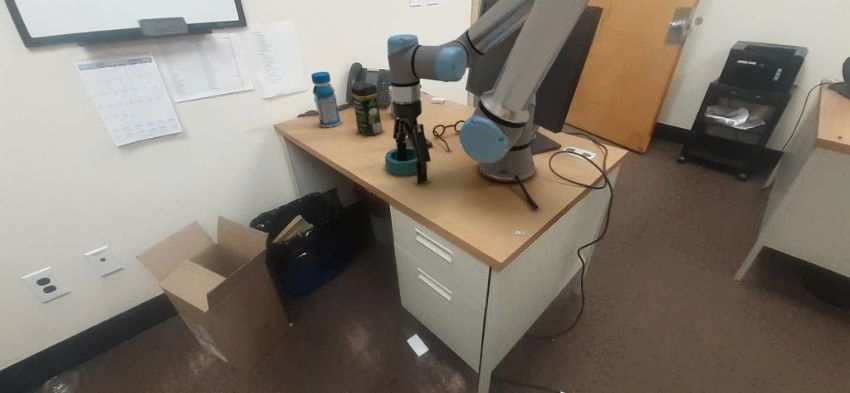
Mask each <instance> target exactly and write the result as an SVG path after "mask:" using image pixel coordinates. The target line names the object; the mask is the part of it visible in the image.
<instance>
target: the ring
mask: <svg viewBox="0 0 850 393" xmlns="http://www.w3.org/2000/svg"><path fill="white" fill-rule="evenodd" d="M406 149H407V161H398V152H397V147H396V148H392V149H391V150H389V151H387V152H386V153H385V156H384V162H385V170H386V171H387V172H389V174H391V175H394V176H397V177H405V176H406V177H407V176H408V177H409V176H413V175H417V169H416V163H415V162H416V161H417V158H416V155H415V152H414V149H413V147H406Z"/></svg>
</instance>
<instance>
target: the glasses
mask: <svg viewBox="0 0 850 393" xmlns="http://www.w3.org/2000/svg"><path fill="white" fill-rule="evenodd" d="M465 121H466V120H463V119H461V120H458V121H456V122H455V123H454V124H448V125H443V124H437V125H435V126H434V127H433V128H432V136H434V137H435V138H438V139H439V140H440V141H441V142H443V143H444V144H445V146H446V148H447V150H448V152H451V150H450V147H449V144H448V142H447V141H446V139H444V138H442V136H443V135H444V134H445V131H446V129H447V128H453V129H454V132H456V133H460V130H457V125H458V124H459V123H464V122H465ZM439 127H441V128H442V132H441V133H438V131H437V130H436V129H437V128H439Z"/></svg>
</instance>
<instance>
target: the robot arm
mask: <svg viewBox="0 0 850 393" xmlns="http://www.w3.org/2000/svg"><path fill="white" fill-rule="evenodd" d="M590 1H591V0H498V1H497V2H495V4H493V5H492V6H491V7H490V8H489V9H488V10H487V11H486V12H484V14H483V15H481V16H480V17H479V18H478V19H477V20H476V21H475V22H474V23H472V24H471V25H470V26H469V27H468V28H467V29H466V30H465V31H464V32H462V34H460V35H459V36H458V37H457V38H456V39H454V40H453V39H452V40H450V41H447V42H445V43H442V44H439V45H423V44H420V43H419V39H418V35H415V34H410V33H405V34H396V35H391V36H389V37H388V39H387V40H386V41H387V42H386V45H387V61H388V68H389V69H388V70H389V76H390V87H391V94H392V100H393V101H394V102H393V112H394V115H395V118H394V122H393V123H394V124H393V131H392V138H393V140H394V141H395V143H396V148H397V152H398V161H408V160H407V149H406V142H403V141H407V140H406V138H408V139H409V140H411V143H412V146H413V149H414V152H415V155H416V158H417V161H416V162H415V163H416V169H417V174H416V182H417V184H421V183H425V182H428V169H427V168H428V167H427V163H428V162H431V160H432V159H431V155H430V151H429V148H428V147H427V143H426V139H427V138H426V135H425V127H424V124H423V123H419V122H418V117H419V116H421V115H422V112H423V110H422V100H421V97H422V95H421V88H422V85H421V80H428V81H436V82H437V81H438V82H442V83H450V82H451V83H456V82H460V81H461V80H462V79H463V76H465V74H466V72H467V69H470V68H472V67H474V66H476V65H477V64H478V63H479V62H480V61H481V60H482V59H483V57H485V56H486V54H488V53H489V52H490V51H491V50H493V49H494V48H495V47H496V46H498V45H499V44H500V43H502V42H503V41H505V40H506V39H507V38H508V37H509V36H510V35H512V34H513V33H514V32H515V31H517V30H518V29H519V28H520V27H521V29H520V31H519V33H518V35H517V37H516V39H515V41H514V44H513V46H512V48H511V49H510V52H509V54H508V56H507V58H506V60H505V62H504V64H503V66H502V69H501V70H500V73H499V74H498V76H497V78H496V81H495V83H494V84H493V87H492V89H491V90H488V91H485V92H483V93H482V94H481V96H480V98H479V100H478V102H477V105H476V107H475V109H474V111H473V113H472V115H471V116H470V117H469V118H467V119H466V120H464V121H465V122H463V124H462V125H461V127H460V130H459V131H460V132H459V136H458V137H459V143H460V144H461V147H462V150H463V152H464V153H465V154H466V155H467V156H468V157H469V158H471V159H472V160H473V161H475V162H477V163H479V172H480V173H481V175H482V176H483V177H484V178H487V179H488V180H491V181H494V182H498V183H506V184H507V183H508V184H512V183H518V185H519V186H520V188H521V191H522V192H523V194H524V196H525V197H526V199H527V200H528V202H529V203H530V205H531V206H532V207H533V208H534V210H538V208H539V206H538V205H537V204H536V202H535V201H534V200H533V198H532V197H531V195H530V193H529V192H528V190H527V189H526V187H525V185H524V184H523V182H524V181H527V180H529V179H530V178H533V176H534V173H535V169H536V168H535V166H536V165H535V162H534V157H533V153H532V149H531V148H532V147H531V143H532V135H533V127H534V126H533V125H534V118H535V109H536V106H537V104H536V96H537V95H536V93H537V92H538V90H539V88H540V87H541V85H542V83H543V81H544V80H545V78H546V76H547V75H548V73H549V72H550V69H551V68H552V66H553V64H554V63H555V61H556V59H557V58H558V56H559V54H560V52H561V51H562V49H563V47H564V46H565V44H566V42H567V40H568V38H569V37H570V35H571V33H573V30H574V28H575V27H576V25H577V23H578V21H579V20H580V19H581V16H582V14H583V13H584V11H585V9H586V8H587V6H588V5H589V3H590ZM425 138H426V139H425Z"/></svg>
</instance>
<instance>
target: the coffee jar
mask: <svg viewBox="0 0 850 393" xmlns="http://www.w3.org/2000/svg"><path fill="white" fill-rule="evenodd" d="M350 89H351V90H350V92H351V96H352V97H351V98H352V100H353V106H354V113H355V120H356V128H357V131H358V133H360V134H362V135H364V136H366V137H367V136H368V137H369V136H376V135H379V134H380V133H381V132H382V131H383V125H382V120H381V115H380V114H381V113H380V108H379V101H378V94H379V92H378V89H377V85H376V84H374V83H371V82H367V81H364V80H358V81H354V82H353V83H352V84H351V86H350Z"/></svg>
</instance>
